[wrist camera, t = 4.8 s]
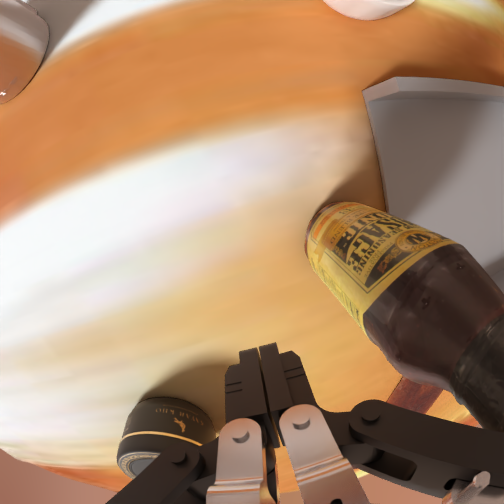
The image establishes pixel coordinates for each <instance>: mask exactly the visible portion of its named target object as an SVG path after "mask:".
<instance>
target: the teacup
mask: <svg viewBox="0 0 504 504" xmlns="http://www.w3.org/2000/svg"><path fill="white" fill-rule="evenodd" d="M323 1H324V2H325V3H326V4H327V5H328V6H330V7H331V8H332V9H334V10H335V11H337V12H339V13H341V14H343V15H345V16H348V17H350V18H354V19H359V20H377V19H381V18H385V17H388V16H390V15H392V14H394V13H396V12H398V11H400V10H401V9H403V8H405V7H407V6H408V5H410V4H411V3H412V2H414V1H415V0H323Z"/></svg>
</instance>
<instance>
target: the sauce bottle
mask: <svg viewBox="0 0 504 504" xmlns="http://www.w3.org/2000/svg"><path fill="white" fill-rule="evenodd" d="M305 253H306V255H307V257H308V259H309V262H310V264H311V266H312V268H313V270H314V272H315V273H316V274H317V275H318V276H319V277H320V279H321V280H322V281H323V282H324V283H325V285H326V286H327V287H328V288H329V289H330V290H331V292H332V293H333V294H334V295H335V296H336V298H337V299H338V300H339V301H340V303H341V304H342V305H343V306H344V308H345V309H346V310H347V311H348V313H349V314H350V315H351V316H352V318H353V319H354V320H355V321H356V323H357V324H358V325H359V327H360V328H361V329H362V330H363V332H364V333H365V334H366V335H367V337H368V338H369V339H370V340H371V341H372V342H373V343H374V344H375V345H377V346H378V347H379V348H380V350H381V351H382V352H383V353H384V355H385V356H386V358H387V360H388V361H389V362H390V363H391V364H392V366H393V367H394V368H395V369H396V370H397V371H398V372H399V373H400V374H402V375H403V376H404V377H406V378H407V379H409V380H411V381H413V382H415V383H418V384H423V385H427V386H436V387H439V388H441V389H444V390H447V391H449V392H451V393H452V394H453V396H454V397H455V399H456V401H457V402H458V403H459V404H460V405H464V406H465V407H466V408H467V409H468V410H469V412H470V413H471V415H472V416H473V417H474V418H475V419H476V420H477V421H478V422H479V424H480V425H481V426H482V428H483V429H487V430H492V431H498V432H503V433H504V294H503V292H502V291H501V290H500V288H499V287H498V286H497V285H496V283H495V282H494V281H493V280H492V278H491V277H490V276H489V275H488V273H487V272H486V271H485V270H484V269H483V268H482V266H481V265H480V264H479V263H478V262H477V261H476V259H475V258H474V257H473V256H472V255H471V254H470V253H469V252H468V250H467V249H466V248H465V247H464V246H463V245H461V244H459V243H457V242H455V241H453V240H451V239H449V238H446V237H444V236H442V235H440V234H437V233H435V232H432V231H430V230H428V229H425V228H423V227H421V226H419V225H416V224H414V223H411V222H410V221H406V220H404V219H401V218H399V217H396V216H394V215H391V214H388V213H386V212H383V211H380V210H378V209H375V208H372V207H369V206H367V205H364V204H361V203H357V202H344V201H341V202H336V203H331V204H329V205H327V206H326V207H324V208H323V209H322V210H321V211H319V212H318V213H317V214H316V215H315V217H314V218H313V219H312V220H311V221H310V222H309V226H308V228H307V232H306V239H305Z"/></svg>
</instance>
